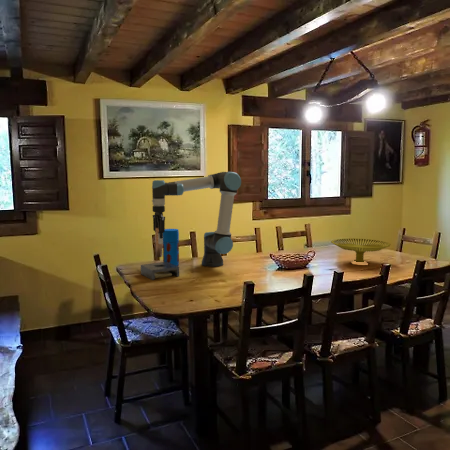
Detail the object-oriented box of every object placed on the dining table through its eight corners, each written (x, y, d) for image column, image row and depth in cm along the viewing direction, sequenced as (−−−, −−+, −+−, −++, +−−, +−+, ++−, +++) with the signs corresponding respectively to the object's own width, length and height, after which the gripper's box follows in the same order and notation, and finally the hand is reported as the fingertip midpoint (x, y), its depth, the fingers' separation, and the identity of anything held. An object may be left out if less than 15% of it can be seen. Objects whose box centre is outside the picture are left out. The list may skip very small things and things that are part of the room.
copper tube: (160, 255, 280) (160, 227, 277) (163, 256, 276) (163, 228, 274) (154, 256, 277) (154, 227, 275) (157, 257, 274) (157, 228, 272)
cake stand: (318, 263, 315) (319, 242, 313) (350, 255, 342) (350, 236, 340) (370, 273, 286) (371, 250, 284) (400, 264, 313) (401, 243, 311)
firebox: (166, 270, 291) (166, 261, 290) (179, 276, 276) (179, 266, 275) (140, 274, 281) (140, 264, 280) (152, 280, 266) (152, 270, 265)
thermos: (176, 267, 299) (175, 231, 296) (161, 267, 301) (160, 230, 298) (180, 264, 310) (180, 228, 307) (166, 263, 312) (165, 228, 309)
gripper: (147, 204, 278) (147, 241, 281) (158, 206, 264) (159, 245, 267) (158, 204, 282) (158, 240, 285) (170, 206, 268) (170, 244, 271)
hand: (159, 242), depth 276 cm, fingers closed on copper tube, 4 cm apart
